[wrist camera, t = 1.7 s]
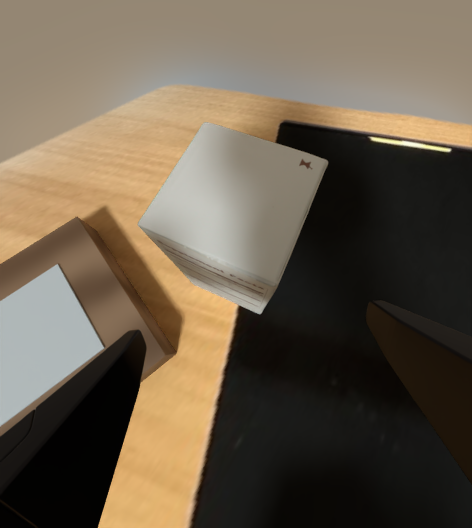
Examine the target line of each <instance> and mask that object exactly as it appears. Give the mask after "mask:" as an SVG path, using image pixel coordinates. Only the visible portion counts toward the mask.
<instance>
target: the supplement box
mask: <svg viewBox="0 0 472 528" xmlns="http://www.w3.org/2000/svg"><path fill="white" fill-rule="evenodd" d="M327 165H328V161H327V160H325V159H322V158H319V157H317V156H314V155H311V154H309V153H305V152H302V151H299V150H296V149H293V148H290V147H287V146H283V145H280V144H277V143H274V142H271V141H267V140H264V139H261V138H258V137H255V136H251V135H248V134H245V133H242V132H239V131H235V130H232V129H229V128H226V127H223V126H220V125H216V124H212V123H208V122H204V123H203V124H202V126H201V127H200V129H199V131H198V132H197V134H196V135H195V137H194V138H193V140H192V141H191V143H190V145H189V146H188V148H187V149H186V151H185V152H184V154H183V155H182V157H181V158H180V160H179V161H178V163H177V164H176V166H175V167H174V169H173V171H172V172H171V174H170V175H169V177H168V178H167V180H166V181H165V183H164V184H163V186H162V187H161V189H160V190H159V192H158V193H157V195H156V196H155V198H154V199H153V201H152V202H151V204H150V205H149V207H148V208H147V210H146V212H145V213H144V215H143V216H142V218H141V219H140V220H139V222H138V226H139V227H140V228H141V229H142V230H143V231H144V232H145V233H146V234H147V235H148V236H149V238H150V239H151V240H152V241H153V242H154V243H155V244H156V245H157V246H158V247H159V248H160V249H161V250H162V251H163V252H164V253H165V254H166V255H167V256H168V257H169V258H170V259H171V260H172V261H173V263H174V264H175V265H176V266H177V267H178V268H179V269H180V270H181V271H182V272H183V274H184V275H185V276H186V277H187V278H188V279H189V280H190V281H191V282H192V283H193V284H194V285H195V286H198V287H200V288H202V289H205V290H207V291H209V292H211V293H214V294H216V295H218V296H220V297H222V298H225V299H227V300H229V301H231V302H233V303H236V304H238V305H240V306H242V307H244V308H247V309H249V310H251V311H253V312H256V313H258V314H261V313H262V311H263V309H264V308H265V306H266V305H267V303H268V301H269V300H270V298H271V297H272V295H273V294H274V292H275V290H276V288H277V286H278V284H279V282H280V279H281V277H282V274H283V272H284V270H285V267H286V265H287V263H288V260H289V258H290V256H291V253H292V251H293V248H294V246H295V243H296V241H297V238H298V236H299V234H300V231H301V229H302V226H303V224H304V221H305V219H306V217H307V214H308V212H309V209H310V206H311V204H312V201H313V199H314V196H315V194H316V191H317V189H318V186H319V184H320V181H321V179H322V177H323V174H324V172H325V169H326V167H327Z"/></svg>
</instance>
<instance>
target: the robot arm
mask: <svg viewBox="0 0 472 528" xmlns="http://www.w3.org/2000/svg"><path fill="white" fill-rule="evenodd" d="M366 323H367V325H368V327H369V328H370V330H371V332H372V334H373V336H374V338H375V339H376V341H377V343H378V345H379V347H380V349H381V350H382V352H383V354H384V356H385V357H386V359H387V361H388V362H389V364H390V365H391V367H392V368H393V370H394V371H395V373H396V374H397V375H398V377H399V378H400V380H401V381H402V383H403V384H404V386H405V387H406V389H407V390H408V392H409V393H410V395H411V396H412V397H413V399H414V400H415V402H416V403H417V405H418V406H419V408H420V409H421V411H422V412H423V414H424V415H425V417H426V418H427V419H428V421H429V422H430V424H431V425H432V427H433V428H434V430H435V431H436V433H437V434H438V436H439V437H440V438H441V440H442V441H443V443H444V444H445V446H446V447H447V449H448V450H449V452H450V453H451V455H452V456H453V458H454V459H455V460H456V462H457V463H458V465H459V466H460V468H461V469H462V471H463V472H464V474H465V475H466V477H467V478H468V480H469V481H470V482H471V484H472V337H470V336H468V335H465V334H463V333H461V332H458V331H456V330H453V329H451V328H448V327H446V326H444V325H441V324H439V323H436V322H434V321H431V320H429V319H426V318H424V317H422V316H419V315H417V314H414V313H412V312H409V311H407V310H405V309H402V308H400V307H397V306H395V305H392V304H390V303H388V302H385V301H383V300H374V301H370V302H369V303H368V307H367V313H366ZM146 351H147V346H146V342H145V340H144V337H143V335H142V332H141V331H140V330H139V329H136V330H129V331H128V332H126V333H125V334H124V335H123V336H121V337H120V338H119V339H118V340H117V341H115V342H114V343H113V344H112V345H111V346H109V347H108V348H107V349H106V350H105V351H103V352H102V353H101V354H100V355H98V356H97V357H96V358H95V359H94V360H92V361H91V362H90V363H89V364H88V365H86V366H85V367H84V368H83V369H82V370H80V371H79V372H78V373H77V374H76V375H74V376H73V377H72V378H71V379H70V380H68V381H67V382H66V383H65V384H63V385H62V386H61V387H60V388H59V389H57V390H56V391H55V392H54V393H53V394H51V395H50V396H49V397H48V398H47V399H45V400H44V401H43V402H42V403H41V404H39V405H38V406H37V407H36V409H34V410H32V411H31V412H30V413H28V414H27V415H26V416H25V417H24V418H22V419H21V420H20V421H19V422H17V423H16V424H15V425H14V426H13V427H11V428H10V429H9V430H8V431H6V432H5V433H4V434H3V435H1V436H0V528H98V525H99V522H100V518H101V515H102V512H103V508H104V505H105V502H106V498H107V495H108V492H109V489H110V485H111V482H112V479H113V475H114V472H115V469H116V465H117V462H118V459H119V455H120V452H121V449H122V445H123V442H124V439H125V435H126V432H127V429H128V425H129V422H130V419H131V415H132V412H133V409H134V405H135V402H136V399H137V395H138V392H139V388H140V383H141V378H142V372H143V367H144V362H145V356H146Z"/></svg>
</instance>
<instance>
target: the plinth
mask: <svg viewBox="0 0 472 528" xmlns="http://www.w3.org/2000/svg"><path fill="white" fill-rule="evenodd" d="M136 329H139V330H140V331H141V332H142V335H143V337H144V340H145V342H146V346H147V351H146V356H145V362H144V367H143V372H142V378H141V382H142V381H143V380H144V379H146V378H147V377H148V376H149V375H151V374H152V373H153V372H154V371H155V370H157V369H158V368H159V367H160V366H162V365H163V364H164V363H165V362H167V361H168V360H169V359H170V358H172V357H173V356H174V355H175V354H177V353H176V352H175V350H174V349H173V347H172V346H171V344H170V342H169V341H168V339H167V338H166V336H165V335H164V333H163V332H162V330H161V329H160V327H159V326H158V324H157V323H156V321H155V320H154V318H153V317H152V315H151V313H150V312H149V310H148V309H147V307H146V306H145V304H144V303H143V301H142V300H141V298H140V297H139V295H138V294H137V292H136V291H135V289H134V288H133V286H132V285H131V283H130V281H129V280H128V278H127V277H126V275H125V274H124V272H123V271H122V269H121V268H120V266H119V265H118V263H117V262H116V260H115V259H114V257H113V256H112V254H111V252H110V251H109V249H108V248H107V246H106V245H105V243H104V242H103V240H102V239H101V237H100V236H99V234H98V233H97V231H96V230H95V229H93V228H92V227H90V226H89V225H88V224H86V223H85V222H84V221H82V220H81V219H80V218H78V217H75V218H74V219H72V220H71V221H69V222H67V223H66V224H64V225H63V226H61V227H59V228H58V229H56V230H55V231H53V232H51V233H50V234H48V235H47V236H45V237H43V238H42V239H40V240H39V241H37V242H35V243H34V244H32V245H30V246H29V247H27V248H26V249H24V250H22V251H21V252H19V253H18V254H16V255H14V256H13V257H11V258H10V259H8V260H6V261H5V262H3V263H2V264H0V436H1V435H3V434H4V433H5V432H6V431H8V430H9V429H10V428H11V427H13V426H14V425H15V424H16V423H17V422H19V421H20V420H21V419H22V418H24V417H25V416H26V415H27V414H28V413H30V412H31V411H32V410H34V409H36V407H37V406H38V405H39V404H41V403H42V402H43V401H44V400H45V399H47V398H48V397H49V396H50V395H51V394H53V393H54V392H55V391H56V390H57V389H59V388H60V387H61V386H62V385H63V384H65V383H66V382H67V381H68V380H70V379H71V378H72V377H73V376H74V375H76V374H77V373H78V372H79V371H80V370H82V369H83V368H84V367H85V366H86V365H88V364H89V363H90V362H91V361H92V360H94V359H95V358H96V357H97V356H98V355H100V354H101V353H102V352H103V351H105V350H106V349H107V348H108V347H109V346H111V345H112V344H113V343H114V342H115V341H117V340H118V339H119V338H120V337H121V336H123V335H124V334H125V333H126V332H128V331H129V330H136Z"/></svg>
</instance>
